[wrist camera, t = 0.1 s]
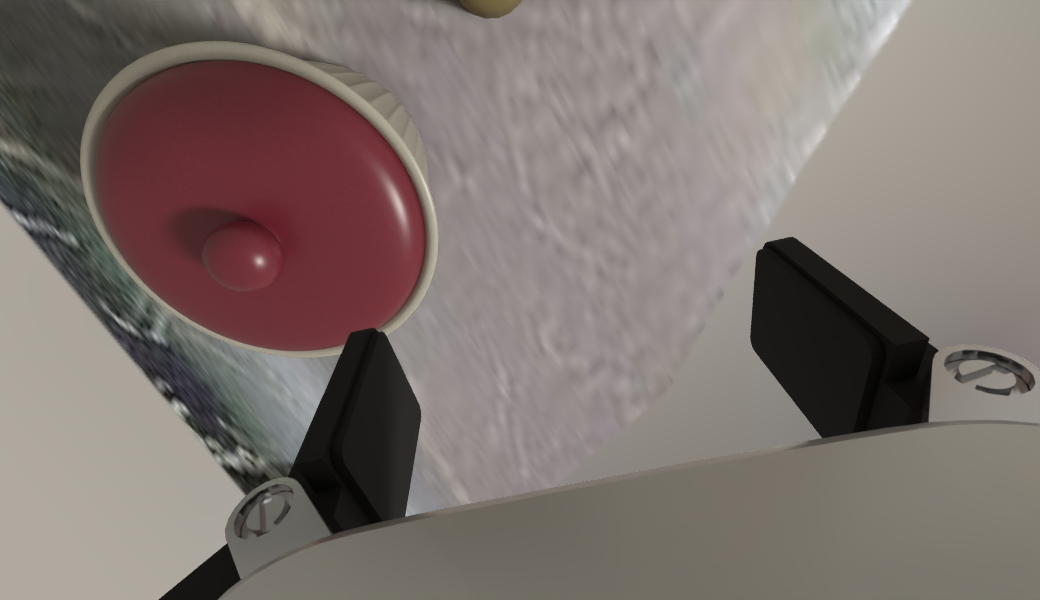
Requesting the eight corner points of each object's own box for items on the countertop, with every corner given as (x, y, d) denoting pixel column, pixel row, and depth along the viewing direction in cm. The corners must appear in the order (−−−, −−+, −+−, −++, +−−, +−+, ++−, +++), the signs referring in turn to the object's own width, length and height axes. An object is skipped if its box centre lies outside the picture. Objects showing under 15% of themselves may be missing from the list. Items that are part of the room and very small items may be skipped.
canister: (477, 71, 36) (466, 131, 18) (433, 266, 45) (398, 432, 28) (229, -8, 33) (-81, -28, 15) (236, 221, 42) (48, 379, 24)
